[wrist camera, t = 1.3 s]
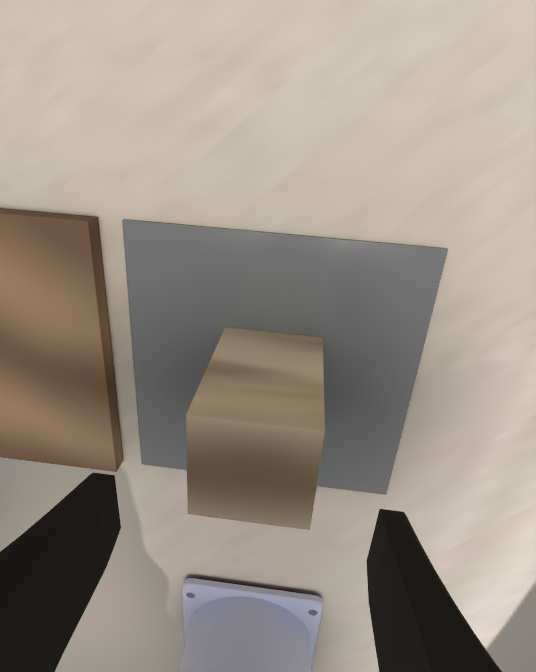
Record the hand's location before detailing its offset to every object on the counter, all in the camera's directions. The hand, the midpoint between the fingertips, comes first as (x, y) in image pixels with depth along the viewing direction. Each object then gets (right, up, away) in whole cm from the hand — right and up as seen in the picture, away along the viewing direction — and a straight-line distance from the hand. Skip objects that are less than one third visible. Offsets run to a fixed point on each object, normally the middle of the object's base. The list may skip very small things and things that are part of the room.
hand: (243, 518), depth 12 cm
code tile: (+1, +3, +7) cm, 8 cm away
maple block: (+1, +3, +7) cm, 8 cm away
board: (-12, +5, +8) cm, 15 cm away
